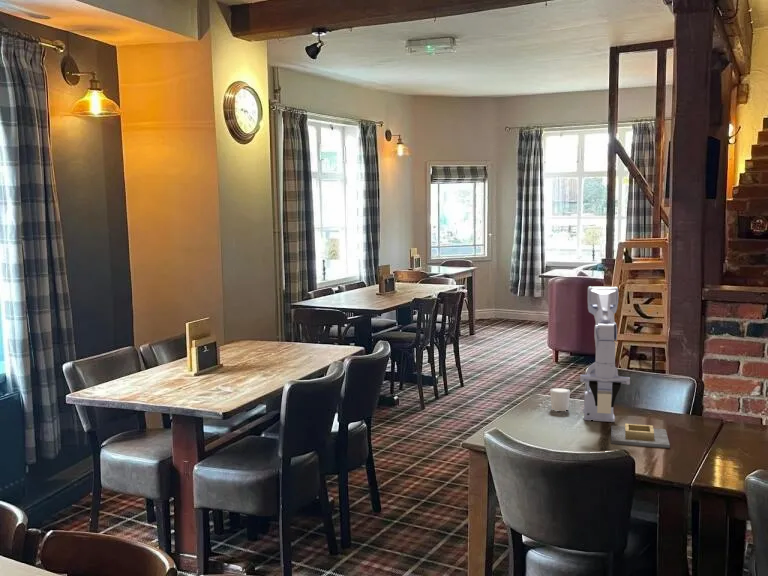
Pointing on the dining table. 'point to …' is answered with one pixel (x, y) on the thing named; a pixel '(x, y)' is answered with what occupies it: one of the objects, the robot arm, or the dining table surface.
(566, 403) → the white cylinder
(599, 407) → the cream block
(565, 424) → the dining table surface
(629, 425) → the socket plate
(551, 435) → the dining table surface
